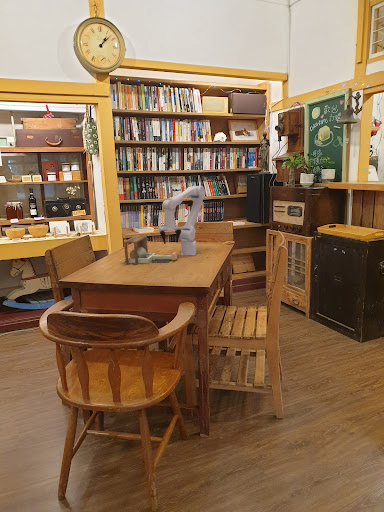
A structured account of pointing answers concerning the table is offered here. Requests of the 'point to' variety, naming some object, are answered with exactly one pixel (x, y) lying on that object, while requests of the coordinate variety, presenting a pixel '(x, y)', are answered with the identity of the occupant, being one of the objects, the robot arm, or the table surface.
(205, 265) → the table surface
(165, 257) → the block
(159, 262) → the pit
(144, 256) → the ceramic mug
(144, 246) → the arch
